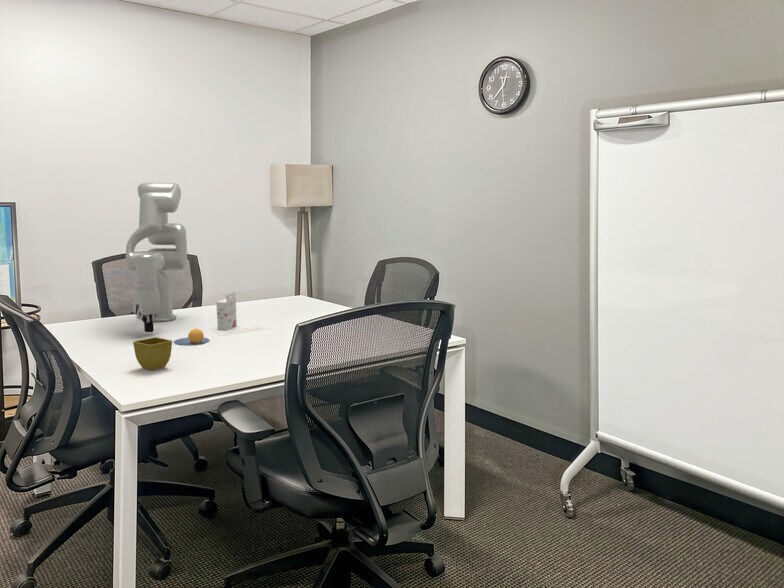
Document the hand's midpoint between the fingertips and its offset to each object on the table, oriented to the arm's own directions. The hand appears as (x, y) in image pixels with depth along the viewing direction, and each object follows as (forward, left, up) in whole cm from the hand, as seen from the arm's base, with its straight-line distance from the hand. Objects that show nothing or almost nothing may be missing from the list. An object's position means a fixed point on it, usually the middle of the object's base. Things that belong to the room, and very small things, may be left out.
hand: (149, 331), depth 250 cm
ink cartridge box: (+17, +26, -2) cm, 31 cm away
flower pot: (+38, -34, -2) cm, 51 cm away
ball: (+26, -1, +1) cm, 26 cm away
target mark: (+22, 0, -2) cm, 22 cm away
